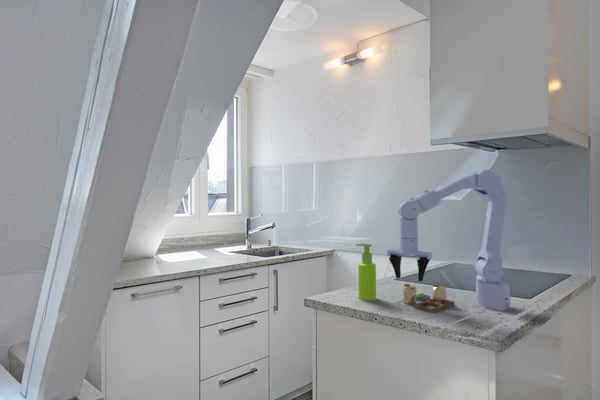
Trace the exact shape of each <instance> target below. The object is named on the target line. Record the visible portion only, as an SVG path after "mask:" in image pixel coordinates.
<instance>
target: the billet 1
mask: <svg viewBox="0 0 600 400" xmlns="http://www.w3.org/2000/svg"><path fill="white" fill-rule="evenodd" d="M416 292H417V286H415V285H412V284H411V285H410V284H409V283H404V284H403V299H402V300H403V301H402V302H403V305H407V306H414V305H415V304H417V301H416Z"/></svg>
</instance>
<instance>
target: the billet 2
mask: <svg viewBox="0 0 600 400" xmlns="http://www.w3.org/2000/svg"><path fill="white" fill-rule="evenodd" d="M432 299H433V303H438V304H446V300H447V287H446V286H444V285H443V286H442V285H441V286H440V285H439V284H436V283H434V284H433V286H432Z"/></svg>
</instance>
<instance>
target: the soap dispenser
mask: <svg viewBox="0 0 600 400" xmlns="http://www.w3.org/2000/svg"><path fill="white" fill-rule="evenodd" d="M355 245H356V247H359V246H361V247H364V250H363V251H364V252H362V253H361V262H360V263H358V264H357V265H358V269H357V271H358V300H360V301H364V302H371V301H372V302H373V301H376V300H377V272H376V271H377V270H376V269H377V267H376V266H377V265H376V263H375V262H373V254H372V253H371V252H370V247H372V246H373V244H370V243H359V244H355Z"/></svg>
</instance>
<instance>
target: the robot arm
mask: <svg viewBox="0 0 600 400" xmlns="http://www.w3.org/2000/svg"><path fill="white" fill-rule="evenodd" d="M466 189H467V190H470V189H472V190H474V191H476V192H478V193H479V194H481V196H483V197H484V198H485V199H486V201H487V208H486V216H485V222H484V230H483V236H482V237H483V238H482V244H481V249H480V251H478V255H477V258H476V260H475V261H474V263H473V271H474V273H475V274H476V277H475V304H476V305H477V306H479V307H484V308H485V309H488V310H489V309H490V310H494V311H499V312H505V311H506V310H509V309H510V308H511V287H510V284H509V283H507V282H503V281H502V278H503V277H504V273H505V272H504V267H503V264H502V263H503V257H502V255H501V253H500V252H501V251H500V250H501V244H502V237H503V229H504V223H505V216H506V210H507V209H506V208H507V202H508V195H507V193H506V191H505V188H504V186H503V183H502V177H501V176H499V174H498V173H496V172H495V171H494V170H491V169H485V170H481V171H475V172H473V173H470V174H467V175H464V176H462V177H460V178H458V179H456V180H453V181H452V182H450V183H448V184H446V185H444V186H443V187H441V188H439V189H437V190H434V189H432V188H431V189H429V190H428V189H424V190H422V193H420V194H419V195H417V196H415V197H413V196H411V197H409V200H406V201H403V202H402V203H401V204H400V205H399V208H398V210H397V212H398V214H399V216H400V217H399V221H400V223H399V249H387V250H386V252H387V253H386V254H387V257H388V256H389V257H388V259H389V262H390V264H391V265H392V268H393V272H394V275H395V279H400V278H401V276H402V275H401V270H402V269H401V266H402V265H401V264H402V258H403V257H404V258H412V259H413V258H415V259H416V263H417V268H418V276H417V277H418V282H422V281H424V276H425V273H426V269H427V267H428V265H429V263H430V260H432V259H433V252H430V251H421V250H419V224H418V216H419V215H420V214H423V213H426V212H428V211H430V210H432V209H433V208H436V207H438V206H439V205H441V204H440V203H441V200H443V199H445V198H447V197H450V196H451V195H453V194H455V193H459V192H460V191H462V190H466Z"/></svg>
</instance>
